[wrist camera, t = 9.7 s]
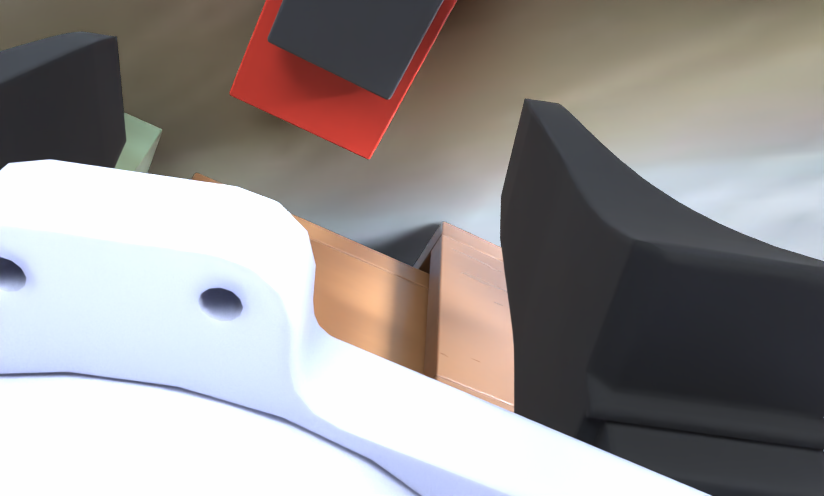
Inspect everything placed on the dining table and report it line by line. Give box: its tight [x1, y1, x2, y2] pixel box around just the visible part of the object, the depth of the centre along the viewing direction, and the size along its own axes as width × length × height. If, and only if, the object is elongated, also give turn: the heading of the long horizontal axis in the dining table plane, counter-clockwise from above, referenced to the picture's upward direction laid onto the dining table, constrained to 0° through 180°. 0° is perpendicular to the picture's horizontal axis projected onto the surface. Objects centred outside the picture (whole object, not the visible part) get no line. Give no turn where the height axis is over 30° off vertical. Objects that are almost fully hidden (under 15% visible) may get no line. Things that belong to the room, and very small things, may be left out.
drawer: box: [114, 113, 430, 375], centre depth 24 cm, size 17×11×6 cm, turn 63°
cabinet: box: [413, 221, 514, 413], centre depth 27 cm, size 13×12×8 cm
